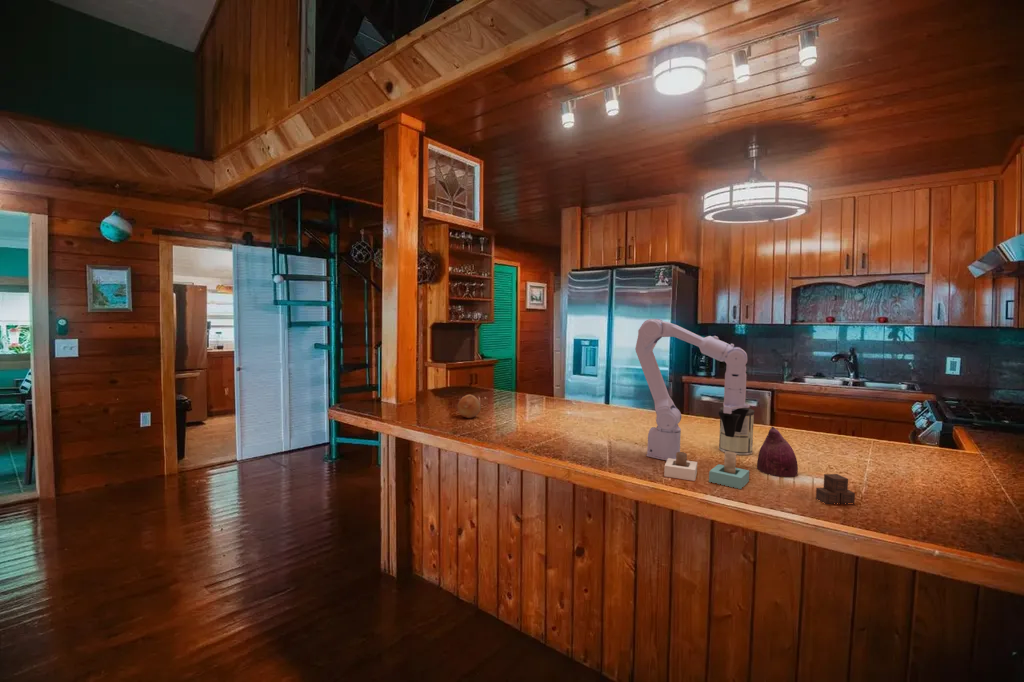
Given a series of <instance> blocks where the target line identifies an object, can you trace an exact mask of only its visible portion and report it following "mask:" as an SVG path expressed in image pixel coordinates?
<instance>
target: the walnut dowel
mask: <svg viewBox="0 0 1024 682" xmlns="http://www.w3.org/2000/svg"><path fill="white" fill-rule="evenodd" d="M687 457H688V453H687V452H683V451H680V452H677V453H676V466H684V467H686V464H687V461H688V458H687Z"/></svg>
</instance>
